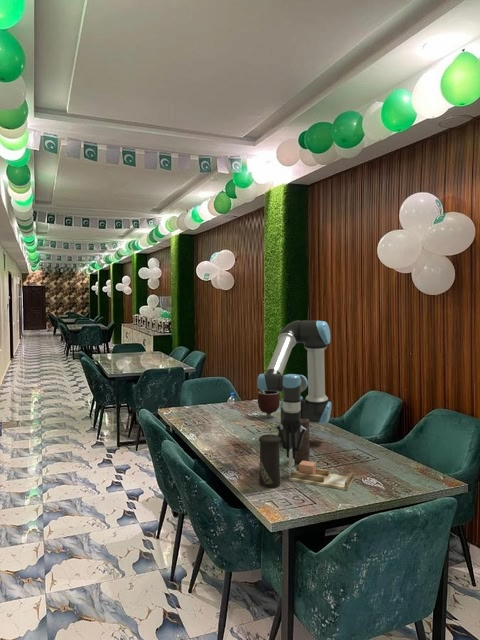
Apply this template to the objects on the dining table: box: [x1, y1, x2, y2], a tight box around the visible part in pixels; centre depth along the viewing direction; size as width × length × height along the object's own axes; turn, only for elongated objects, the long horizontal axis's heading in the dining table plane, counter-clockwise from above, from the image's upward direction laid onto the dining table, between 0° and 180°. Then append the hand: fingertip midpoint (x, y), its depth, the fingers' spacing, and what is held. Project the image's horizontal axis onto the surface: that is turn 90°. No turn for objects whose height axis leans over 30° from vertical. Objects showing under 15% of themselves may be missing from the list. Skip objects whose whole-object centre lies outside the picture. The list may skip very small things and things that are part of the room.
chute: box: [288, 464, 354, 491], centre depth 192 cm, size 24×12×3 cm, turn 65°
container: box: [258, 434, 281, 489], centre depth 188 cm, size 9×9×20 cm
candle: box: [294, 419, 311, 464], centre depth 213 cm, size 8×7×20 cm
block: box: [298, 461, 317, 475], centre depth 195 cm, size 6×5×5 cm
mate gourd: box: [256, 385, 281, 422], centre depth 291 cm, size 16×14×20 cm
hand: (291, 465), depth 198 cm, fingers closed
